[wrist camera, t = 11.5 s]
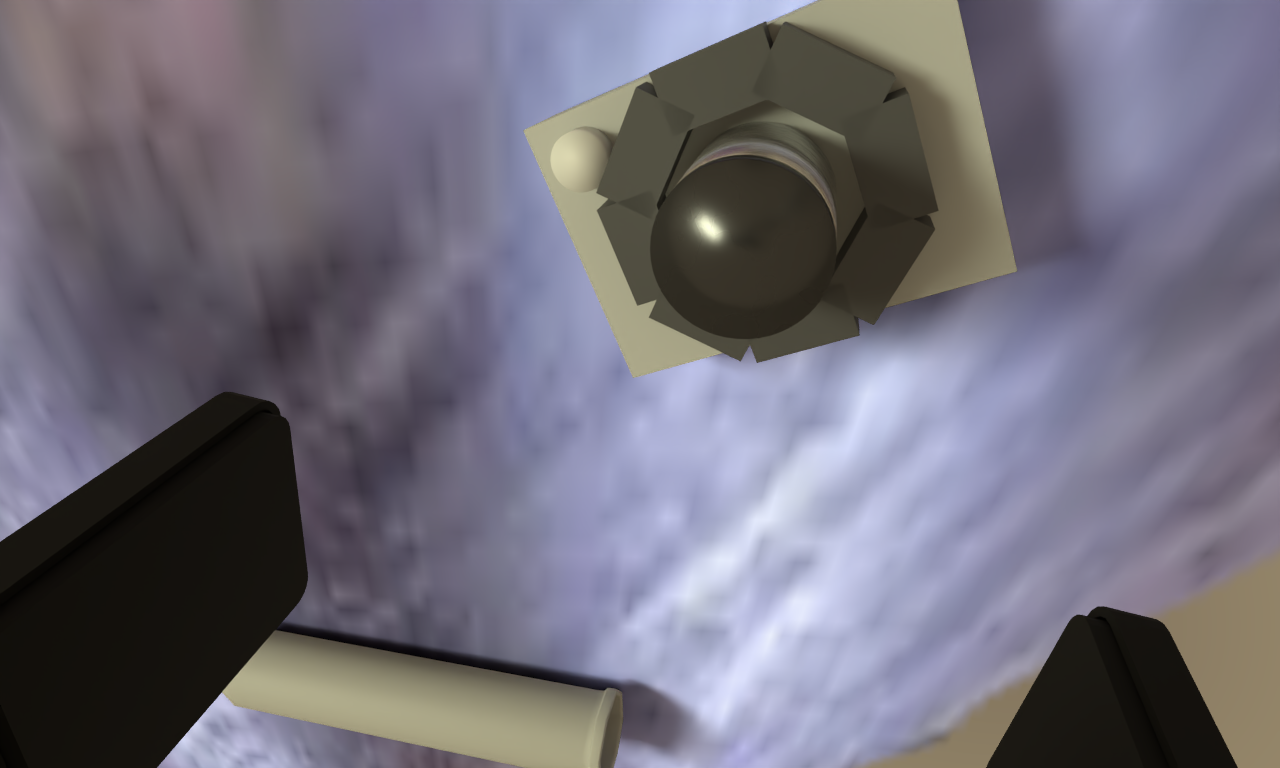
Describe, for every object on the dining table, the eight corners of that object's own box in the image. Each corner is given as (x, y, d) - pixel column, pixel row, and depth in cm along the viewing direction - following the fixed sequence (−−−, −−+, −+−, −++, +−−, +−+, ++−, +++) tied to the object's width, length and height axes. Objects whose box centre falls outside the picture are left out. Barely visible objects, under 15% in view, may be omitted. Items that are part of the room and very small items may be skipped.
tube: (228, 720, 49) (606, 803, 43) (185, 686, 45) (594, 772, 39) (273, 641, 52) (627, 709, 47) (236, 603, 48) (618, 672, 43)
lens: (699, 109, 25) (662, 144, 20) (854, 135, 24) (858, 178, 19) (677, 254, 27) (639, 319, 22) (816, 282, 27) (812, 355, 21)
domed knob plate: (929, -52, 25) (951, -59, 20) (995, 237, 28) (1027, 290, 24) (558, 110, 30) (505, 135, 25) (655, 338, 33) (625, 398, 29)
